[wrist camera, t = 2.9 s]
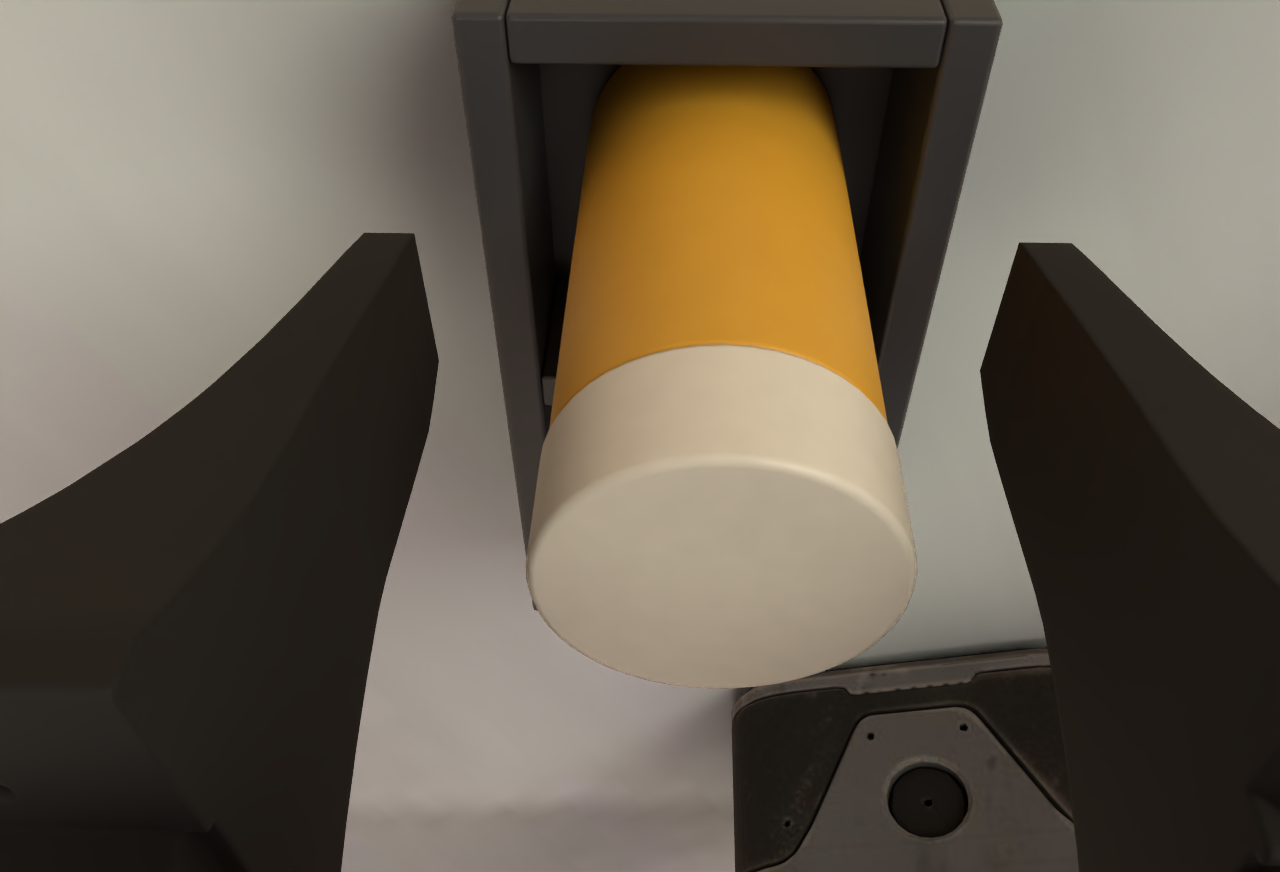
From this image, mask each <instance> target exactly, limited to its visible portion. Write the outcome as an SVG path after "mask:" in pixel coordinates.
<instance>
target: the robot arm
mask: <svg viewBox="0 0 1280 872" xmlns="http://www.w3.org/2000/svg"><path fill="white" fill-rule="evenodd" d="M438 363H439V359H438V354H437V349H436V344H435V339H434V333H433V328H432V323H431V318H430V313H429V308H428V303H427V297H426V292H425V287H424V282H423V277H422V272H421V266H420V261H419V256H418V251H417V246H416V241H415V235H414V234H410V233H363V235H362V236H361V237H360V238H359V239H358V240H357V241H356V242H355V243H354V244H353V245H352V246H351V247H350V248H349V249H348V250H347V251H346V252H345V253H344V254H343V255H342V256H341V257H340V258H339V259H338V260H337V261H336V262H335V264H334V265H333V266H332V267H331V268H330V269H329V270H328V271H327V272H326V273H325V274H324V275H323V276H322V278H321V279H320V280H319V281H318V282H317V283H316V284H315V285H314V286H313V287H312V288H311V289H310V290H309V291H308V292H307V293H306V295H305V296H304V297H303V298H302V299H301V300H300V301H299V302H298V303H297V304H296V305H295V306H294V307H293V308H292V309H291V310H290V311H289V312H288V313H287V314H286V315H285V316H284V317H283V318H282V319H281V320H280V321H279V322H278V323H277V324H276V325H275V326H274V327H273V328H272V329H271V330H270V331H269V332H268V333H267V334H266V335H265V336H264V337H263V338H262V339H261V340H260V341H259V342H258V343H257V344H256V345H255V346H254V347H253V348H252V349H251V350H249V351H248V352H247V353H246V354H245V355H244V356H243V357H242V358H241V359H240V360H239V361H237V362H236V363H235V364H234V365H233V366H232V367H231V368H230V369H229V370H228V371H227V372H225V373H224V374H223V375H222V376H221V377H220V378H219V379H218V380H217V381H216V382H214V383H213V384H212V385H211V386H210V387H208V388H207V389H206V390H205V391H204V392H203V393H201V394H200V395H199V396H198V397H196V398H195V399H194V400H193V401H191V402H190V403H189V404H188V405H186V406H185V407H184V408H183V409H181V410H180V411H179V412H177V413H176V414H175V415H173V416H172V417H171V418H169V419H168V420H167V421H165V422H164V423H163V424H161V425H160V426H159V427H157V428H156V429H155V430H153V431H152V432H151V433H149V434H148V435H146V436H145V437H143V438H142V439H141V440H139V441H138V442H136V443H135V444H133V445H132V446H130V447H129V448H127V449H126V450H124V451H123V452H121V453H119V454H118V455H116V456H115V457H113V458H112V459H110V460H109V461H107V462H105V463H104V464H102V465H101V466H99V467H98V468H96V469H95V470H93V471H91V472H90V473H88V474H87V475H85V476H84V477H82V478H81V479H79V480H77V481H76V482H74V483H73V484H71V485H70V486H68V487H66V488H64V489H63V490H61V491H59V492H58V493H56V494H54V495H52V496H51V497H49V498H47V499H45V500H43V501H42V502H40V503H38V504H36V505H35V506H33V507H31V508H29V509H28V510H26V511H24V512H22V513H20V514H18V515H16V516H14V517H12V518H11V519H9V520H7V521H5V522H3V523H1V524H0V872H341V866H342V857H343V848H344V839H345V830H346V822H347V814H348V806H349V799H350V791H351V784H352V776H353V769H354V761H355V753H356V746H357V739H358V733H359V726H360V720H361V713H362V707H363V700H364V694H365V687H366V681H367V674H368V669H369V663H370V657H371V651H372V645H373V640H374V634H375V628H376V622H377V617H378V611H379V606H380V602H381V598H382V594H383V589H384V585H385V581H386V577H387V573H388V570H389V567H390V563H391V560H392V556H393V553H394V549H395V546H396V543H397V539H398V536H399V532H400V529H401V525H402V522H403V519H404V515H405V512H406V508H407V505H408V502H409V498H410V495H411V491H412V488H413V484H414V481H415V477H416V474H417V470H418V467H419V463H420V460H421V456H422V453H423V449H424V446H425V442H426V438H427V435H428V431H429V425H430V419H431V413H432V406H433V400H434V392H435V385H436V378H437V370H438ZM980 374H981V381H982V389H983V397H984V404H985V412H986V418H987V424H988V430H989V437H990V442H991V446H992V450H993V453H994V457H995V460H996V464H997V467H998V471H999V474H1000V477H1001V481H1002V484H1003V488H1004V491H1005V494H1006V498H1007V501H1008V504H1009V508H1010V511H1011V514H1012V518H1013V521H1014V524H1015V528H1016V531H1017V534H1018V537H1019V541H1020V544H1021V547H1022V551H1023V554H1024V557H1025V561H1026V564H1027V567H1028V571H1029V574H1030V577H1031V581H1032V584H1033V587H1034V590H1035V594H1036V598H1037V602H1038V606H1039V610H1040V614H1041V618H1042V622H1043V627H1044V632H1045V638H1046V644H1047V649H1048V655H1049V660H1050V666H1051V672H1052V677H1053V683H1054V689H1055V694H1056V701H1057V707H1058V714H1059V720H1060V727H1061V734H1062V740H1063V747H1064V753H1065V760H1066V766H1067V774H1068V782H1069V790H1070V798H1071V806H1072V814H1073V822H1074V830H1075V838H1076V846H1077V856H1078V866H1079V872H1280V429H1279V428H1278V427H1276V426H1275V425H1274V424H1272V423H1271V422H1270V421H1268V420H1267V419H1266V418H1264V417H1263V416H1262V415H1260V414H1259V413H1258V412H1257V411H1255V410H1254V409H1253V408H1252V407H1250V406H1249V405H1248V404H1247V403H1245V402H1244V401H1243V400H1242V399H1241V398H1239V397H1238V396H1237V395H1236V394H1235V393H1233V392H1232V391H1231V390H1230V389H1228V388H1227V387H1226V386H1225V385H1224V384H1222V383H1221V382H1220V381H1219V380H1217V379H1216V378H1215V377H1214V376H1213V375H1212V374H1210V373H1209V372H1208V371H1207V370H1206V369H1205V368H1204V367H1202V366H1201V365H1200V364H1199V363H1198V362H1197V361H1196V360H1194V359H1193V358H1192V357H1191V356H1190V355H1189V354H1188V353H1187V352H1186V351H1184V350H1183V349H1182V348H1181V347H1180V346H1179V345H1178V344H1177V343H1176V342H1175V341H1174V340H1172V339H1171V338H1170V337H1169V336H1168V335H1167V334H1166V333H1165V332H1164V331H1163V330H1162V329H1161V328H1160V327H1159V326H1158V325H1156V324H1155V323H1154V322H1153V321H1152V320H1151V319H1150V318H1149V317H1148V316H1147V315H1146V314H1145V313H1144V312H1143V311H1142V310H1141V309H1140V308H1139V307H1138V306H1137V305H1136V304H1135V303H1134V302H1133V301H1132V300H1131V299H1130V298H1129V297H1127V296H1126V295H1125V294H1124V293H1123V292H1122V291H1121V290H1120V289H1119V288H1118V287H1117V286H1116V285H1115V284H1114V283H1113V282H1112V281H1111V280H1110V279H1109V278H1108V277H1107V276H1106V275H1105V274H1104V273H1103V272H1102V271H1101V270H1100V269H1099V268H1098V267H1097V266H1096V265H1095V264H1094V263H1093V262H1092V261H1091V260H1089V259H1088V258H1087V257H1086V256H1085V255H1084V254H1083V253H1082V252H1081V251H1080V250H1079V249H1077V248H1076V247H1075V246H1074V245H1073V244H1072V243H1019V245H1018V248H1017V252H1016V255H1015V258H1014V262H1013V265H1012V268H1011V271H1010V275H1009V278H1008V281H1007V284H1006V288H1005V291H1004V294H1003V297H1002V301H1001V304H1000V307H999V311H998V314H997V317H996V320H995V324H994V327H993V330H992V333H991V337H990V340H989V343H988V347H987V350H986V353H985V356H984V360H983V363H982V366H981V369H980Z"/></svg>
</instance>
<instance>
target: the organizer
mask: <svg viewBox="0 0 1280 872" xmlns="http://www.w3.org/2000/svg"><path fill="white" fill-rule="evenodd" d="M452 24H453V31H454V38H455V45H456V53H457V60H458V67H459V74H460V81H461V89H462V96H463V103H464V110H465V118H466V125H467V132H468V139H469V147H470V154H471V161H472V168H473V175H474V183H475V190H476V197H477V204H478V212H479V219H480V226H481V233H482V240H483V248H484V255H485V262H486V269H487V277H488V284H489V291H490V298H491V305H492V313H493V320H494V327H495V334H496V342H497V349H498V356H499V363H500V371H501V378H502V385H503V392H504V399H505V407H506V414H507V421H508V428H509V436H510V443H511V450H512V457H513V464H514V472H515V479H516V486H517V493H518V501H519V508H520V515H521V522H522V530H523V537H524V544H525V551H526V558H527V551H528V543H529V536H530V529H531V522H532V515H533V507H534V500H535V493H536V486H537V479H538V471H539V464H540V458H541V453H542V447H543V443H544V441H545V438H546V436H547V433H548V431H549V427H550V419H551V412H552V404H553V397H554V390H555V382H556V375H557V367H558V360H559V353H560V345H561V338H562V330H563V323H564V315H565V308H566V301H567V293H568V286H569V278H570V271H571V264H572V256H573V249H574V241H575V234H576V226H577V219H578V212H579V204H580V197H581V189H582V182H583V175H584V167H585V160H586V152H587V145H588V137H589V130H590V124H591V119H592V114H593V111H594V108H595V105H596V102H597V100H598V98H599V96H600V94H601V92H602V90H603V88H604V87H605V85H606V84H607V82H608V81H609V79H610V78H611V77H612V75H613V74H614V73H615V72H616V71H617V70H618V69H619V68H620V66H621V65H692V66H778V67H810V68H811V69H812V71H813V72H814V73H815V74H816V76H817V77H818V78H819V80H820V82H821V83H822V85H823V87H824V88H825V90H826V92H827V95H828V97H829V100H830V102H831V105H832V109H833V113H834V117H835V122H836V128H837V134H838V139H839V145H840V151H841V157H842V162H843V168H844V174H845V180H846V186H847V191H848V197H849V203H850V209H851V214H852V220H853V226H854V232H855V238H856V243H857V249H858V255H859V261H860V266H861V272H862V278H863V284H864V290H865V295H866V301H867V307H868V313H869V318H870V324H871V330H872V336H873V342H874V347H875V353H876V359H877V365H878V370H879V376H880V382H881V388H882V394H883V399H884V405H885V411H886V417H887V422H888V426H889V428H890V430H891V432H892V434H893V436H894V439H895V443H896V447H897V448H898V444H899V440H900V436H901V432H902V428H903V424H904V420H905V416H906V412H907V408H908V404H909V400H910V396H911V392H912V388H913V384H914V380H915V376H916V372H917V368H918V364H919V359H920V355H921V351H922V347H923V343H924V339H925V335H926V331H927V327H928V323H929V319H930V315H931V311H932V307H933V303H934V299H935V295H936V291H937V287H938V283H939V279H940V275H941V270H942V266H943V262H944V258H945V254H946V250H947V246H948V242H949V238H950V234H951V230H952V226H953V222H954V218H955V214H956V210H957V206H958V202H959V198H960V194H961V190H962V185H963V181H964V177H965V173H966V169H967V165H968V161H969V157H970V153H971V149H972V145H973V141H974V137H975V133H976V129H977V125H978V121H979V117H980V113H981V109H982V105H983V101H984V96H985V92H986V88H987V84H988V80H989V76H990V72H991V68H992V64H993V60H994V56H995V52H996V48H997V44H998V40H999V36H1000V32H1001V28H1002V19H1001V16H1000V14H999V12H998V10H997V7H996V5H995V3H994V0H458V1H457V4H456V6H455V9H454V12H453V15H452ZM532 602H533V608H534V610H537V608H536V606H535V603H534V601H533V599H532ZM537 611H538V610H537Z"/></svg>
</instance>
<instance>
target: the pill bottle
mask: <svg viewBox="0 0 1280 872" xmlns="http://www.w3.org/2000/svg"><path fill="white" fill-rule="evenodd" d="M916 576H917V557H916V552H915V546H914V540H913V535H912V529H911V523H910V518H909V512H908V507H907V501H906V495H905V490H904V484H903V478H902V473H901V467H900V462H899V456H898V451H897V447H896V443H895V439H894V436H893V434H892V432H891V430H890V428H889V426H888V422H887V417H886V411H885V405H884V399H883V394H882V388H881V382H880V376H879V370H878V365H877V359H876V353H875V347H874V342H873V336H872V330H871V324H870V318H869V313H868V307H867V301H866V295H865V290H864V284H863V278H862V272H861V266H860V261H859V255H858V249H857V243H856V238H855V232H854V226H853V220H852V214H851V209H850V203H849V197H848V191H847V186H846V180H845V174H844V168H843V162H842V157H841V151H840V145H839V139H838V134H837V128H836V122H835V117H834V113H833V109H832V105H831V102H830V100H829V97H828V95H827V92H826V90H825V88H824V87H823V85H822V83H821V82H820V80H819V78H818V77H817V76H816V74H815V73H814V72H813V71H812V69H811V68H810V67H778V66H692V65H621V66H620V68H619V69H618V70H617V71H616V72H615V73H614V74H613V75H612V77H611V78H610V79H609V81H608V82H607V84H606V85H605V87H604V88H603V90H602V92H601V94H600V96H599V98H598V100H597V102H596V105H595V108H594V111H593V114H592V119H591V124H590V130H589V137H588V145H587V152H586V160H585V167H584V175H583V182H582V189H581V197H580V204H579V212H578V219H577V226H576V234H575V241H574V249H573V256H572V264H571V271H570V278H569V286H568V293H567V301H566V308H565V315H564V323H563V330H562V338H561V345H560V353H559V360H558V367H557V375H556V382H555V390H554V397H553V404H552V412H551V419H550V427H549V431H548V433H547V436H546V438H545V441H544V443H543V447H542V453H541V458H540V464H539V471H538V479H537V486H536V493H535V500H534V507H533V515H532V522H531V529H530V536H529V543H528V551H527V558H526V579H527V583H528V587H529V591H530V594H531V597H532V599H533V601H534V603H535V606H536V608H537V610H538V612H539V613H540V615H541V616H542V618H543V619H544V620H545V622H546V623H547V625H548V626H549V627H550V628H551V629H552V630H553V631H554V632H555V633H556V634H557V635H558V636H559V637H560V638H561V639H562V640H564V641H565V642H566V643H568V644H569V645H570V646H571V647H573V648H574V649H576V650H577V651H579V652H580V653H582V654H584V655H585V656H587V657H589V658H590V659H592V660H594V661H596V662H598V663H601V664H603V665H605V666H607V667H609V668H612V669H614V670H617V671H620V672H622V673H625V674H628V675H632V676H635V677H639V678H642V679H645V680H650V681H655V682H660V683H664V684H670V685H678V686H685V687H696V688H745V687H757V686H764V685H771V684H778V683H783V682H787V681H792V680H796V679H800V678H804V677H807V676H810V675H814V674H817V673H820V672H822V671H825V670H828V669H830V668H833V667H835V666H838V665H840V664H842V663H844V662H846V661H848V660H850V659H852V658H854V657H856V656H857V655H859V654H860V653H862V652H863V651H865V650H867V649H868V648H870V647H871V646H872V645H874V644H875V643H876V642H877V641H879V640H880V639H881V638H882V637H883V636H885V635H886V634H887V633H888V631H889V630H890V629H891V628H892V627H893V626H894V625H895V624H896V623H897V622H898V620H899V618H900V617H901V615H902V614H903V612H904V611H905V609H906V607H907V605H908V603H909V600H910V598H911V596H912V593H913V590H914V586H915V581H916Z"/></svg>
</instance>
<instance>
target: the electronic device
mask: <svg viewBox="0 0 1280 872" xmlns="http://www.w3.org/2000/svg"><path fill="white" fill-rule="evenodd" d="M732 757H733V797H734V838H735V872H1079V866H1078V856H1077V846H1076V838H1075V830H1074V822H1073V814H1072V806H1071V798H1070V790H1069V782H1068V774H1067V766H1066V760H1065V753H1064V747H1063V740H1062V734H1061V727H1060V720H1059V714H1058V707H1057V701H1056V694H1055V689H1054V683H1053V677H1052V672H1051V666H1050V660H1049V655H1048V649H1026V650H1017V651H1008V652H999V653H990V654H980V655H971V656H962V657H953V658H944V659H935V660H926V661H917V662H907V663H898V664H889V665H880V666H871V667H862V668H853V669H844V670H835V671H825V672H820V673H817V674H814V675H810V676H807V677H804V678H800V679H796V680H792V681H787V682H783V683H778V684H771V685H764V686H757V687H754V688H752V689H751V690H750V691H748V692H747V693H746V694H744V695H743V696H741V697H740V698H739V700H738V701H737V702H736V703H735V704H734V706H733V709H732Z"/></svg>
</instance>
